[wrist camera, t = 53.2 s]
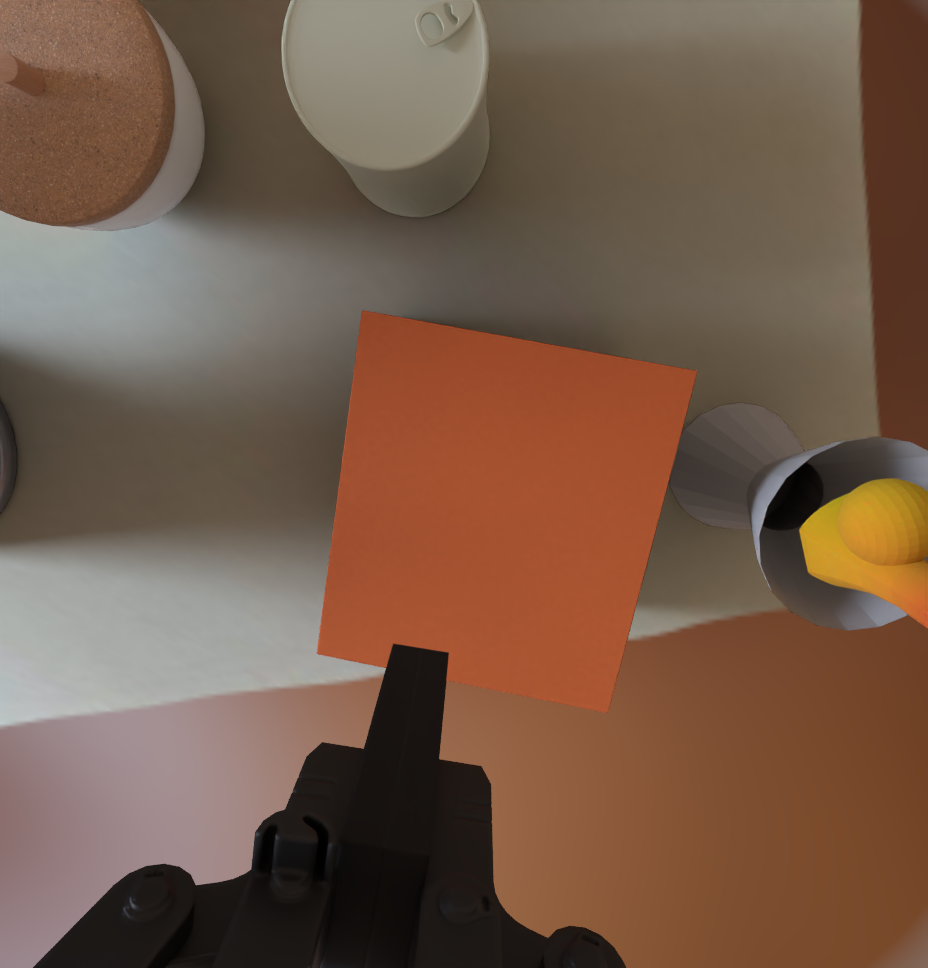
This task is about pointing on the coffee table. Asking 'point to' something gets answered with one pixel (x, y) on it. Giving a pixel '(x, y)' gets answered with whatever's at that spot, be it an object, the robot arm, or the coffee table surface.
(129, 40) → the lidded bowl
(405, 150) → the can
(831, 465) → the lava lamp
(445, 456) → the lid
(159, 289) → the coffee table surface
